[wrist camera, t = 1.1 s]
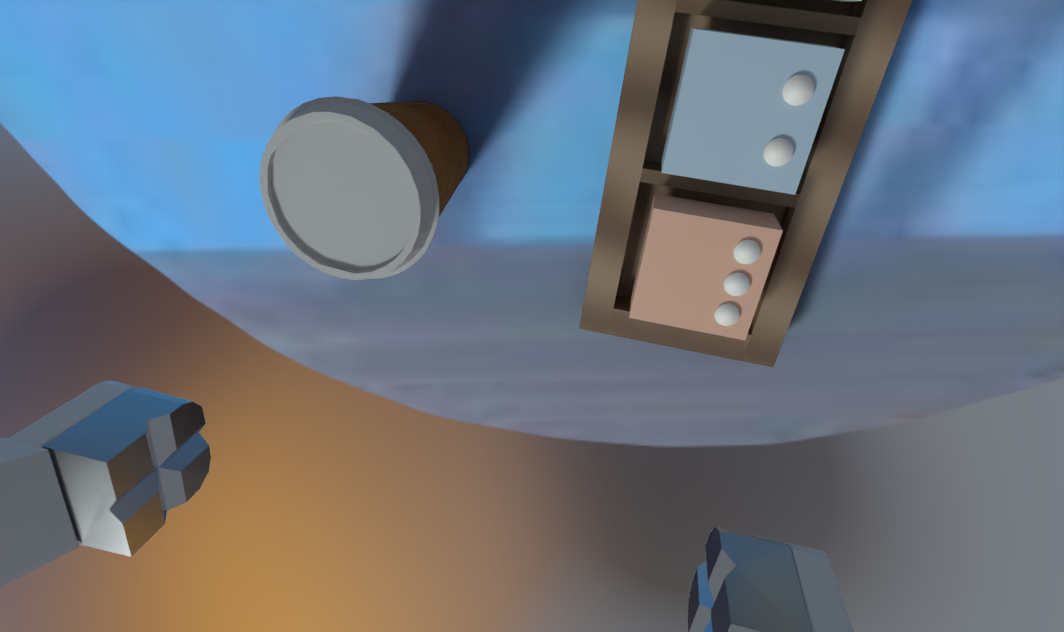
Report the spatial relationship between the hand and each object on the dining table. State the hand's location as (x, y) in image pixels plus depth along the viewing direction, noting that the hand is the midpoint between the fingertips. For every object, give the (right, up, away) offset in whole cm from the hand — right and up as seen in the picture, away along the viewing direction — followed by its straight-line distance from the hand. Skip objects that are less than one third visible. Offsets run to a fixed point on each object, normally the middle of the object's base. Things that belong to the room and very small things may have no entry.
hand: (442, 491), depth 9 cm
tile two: (+13, +14, +23) cm, 30 cm away
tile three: (+12, +6, +27) cm, 30 cm away
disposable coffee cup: (-6, +14, +31) cm, 34 cm away
